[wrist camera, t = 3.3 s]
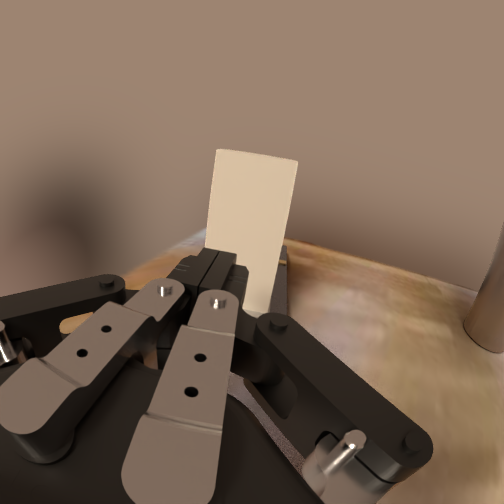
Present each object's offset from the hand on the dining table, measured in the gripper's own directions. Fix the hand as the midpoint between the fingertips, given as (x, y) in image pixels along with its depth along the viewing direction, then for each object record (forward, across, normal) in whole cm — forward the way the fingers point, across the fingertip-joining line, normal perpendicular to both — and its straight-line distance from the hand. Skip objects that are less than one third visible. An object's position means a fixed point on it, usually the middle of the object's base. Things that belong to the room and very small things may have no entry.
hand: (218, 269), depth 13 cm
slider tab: (+10, 0, +9) cm, 13 cm away
